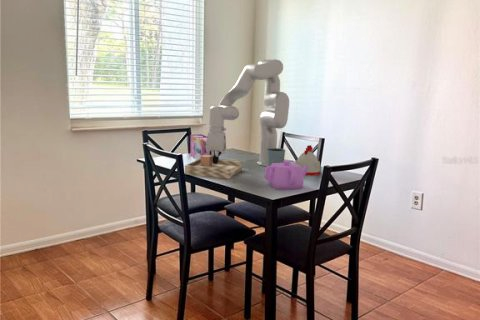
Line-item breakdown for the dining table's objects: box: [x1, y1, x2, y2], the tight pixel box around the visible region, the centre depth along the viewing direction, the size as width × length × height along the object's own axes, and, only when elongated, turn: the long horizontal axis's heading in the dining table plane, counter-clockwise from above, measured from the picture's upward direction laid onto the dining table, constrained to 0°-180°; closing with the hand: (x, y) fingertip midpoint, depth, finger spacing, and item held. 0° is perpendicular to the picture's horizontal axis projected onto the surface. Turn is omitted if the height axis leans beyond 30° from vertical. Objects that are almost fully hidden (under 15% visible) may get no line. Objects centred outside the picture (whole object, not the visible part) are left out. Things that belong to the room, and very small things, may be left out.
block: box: [201, 155, 213, 166], centre depth 229 cm, size 5×5×5 cm
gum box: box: [190, 133, 211, 160], centre depth 259 cm, size 24×8×14 cm, turn 23°
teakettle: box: [263, 159, 309, 191], centre depth 199 cm, size 17×17×12 cm
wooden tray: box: [184, 159, 243, 179], centre depth 224 cm, size 24×22×4 cm
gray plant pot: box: [267, 147, 286, 166], centre depth 231 cm, size 10×10×12 cm
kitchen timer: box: [294, 145, 321, 177], centre depth 230 cm, size 14×14×15 cm
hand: (215, 163), depth 228 cm, fingers closed
